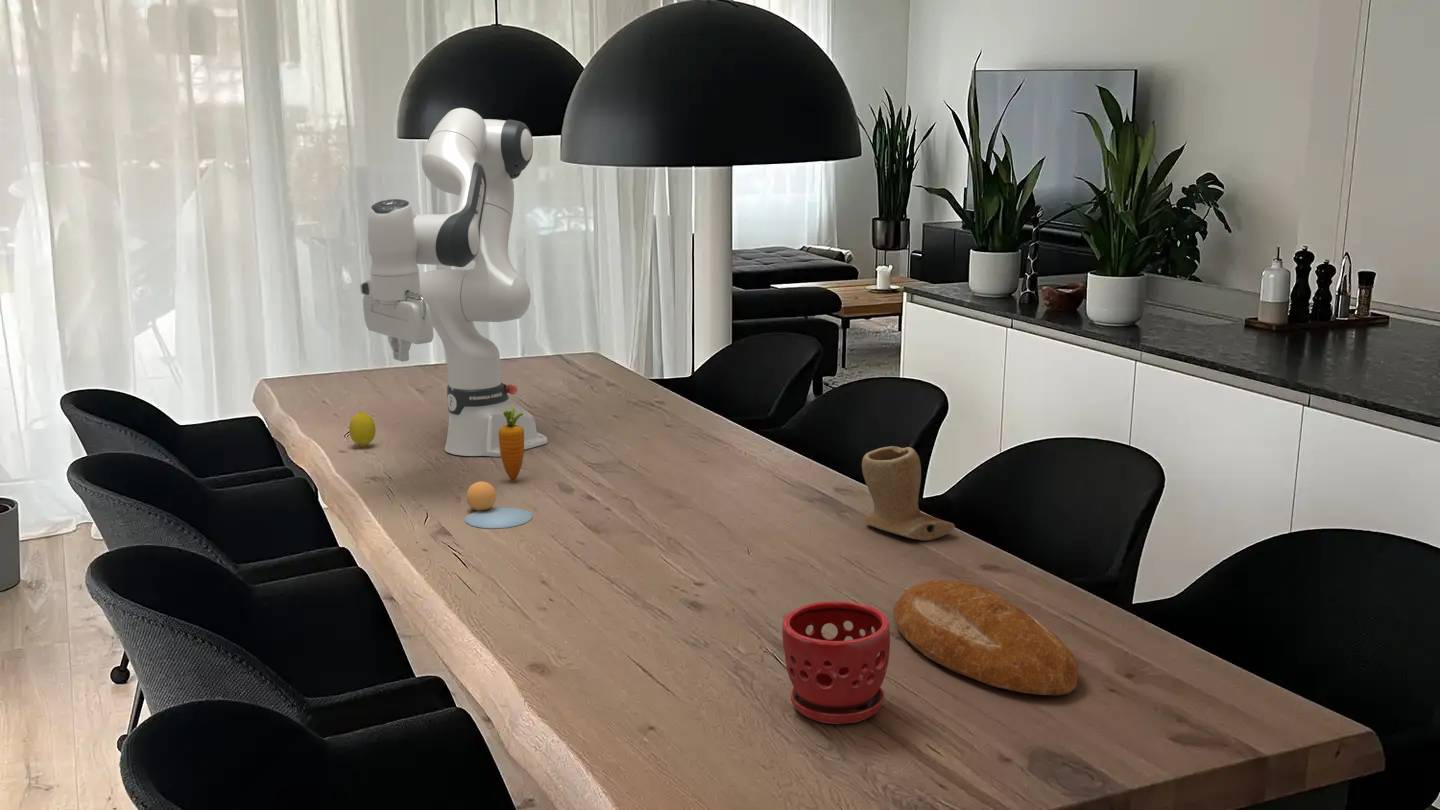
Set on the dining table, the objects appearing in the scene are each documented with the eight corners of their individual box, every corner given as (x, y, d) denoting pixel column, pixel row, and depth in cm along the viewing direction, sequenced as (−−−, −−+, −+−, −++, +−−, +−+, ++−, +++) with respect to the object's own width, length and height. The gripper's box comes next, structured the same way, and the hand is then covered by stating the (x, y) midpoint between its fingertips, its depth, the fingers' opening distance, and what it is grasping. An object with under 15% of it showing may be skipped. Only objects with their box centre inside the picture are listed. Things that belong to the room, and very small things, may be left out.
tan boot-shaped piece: (846, 527, 237) (848, 445, 234) (897, 515, 244) (899, 435, 241) (904, 550, 225) (906, 464, 222) (956, 537, 232) (959, 453, 228)
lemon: (369, 450, 291) (367, 415, 289) (346, 449, 292) (343, 413, 290) (380, 444, 296) (378, 409, 294) (357, 443, 297) (355, 408, 296)
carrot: (512, 476, 271) (509, 403, 267) (531, 480, 268) (528, 407, 264) (495, 482, 267) (492, 408, 263) (513, 486, 264) (510, 411, 260)
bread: (1004, 718, 165) (1007, 650, 163) (857, 620, 196) (858, 562, 194) (1117, 691, 172) (1121, 626, 170) (958, 600, 204) (960, 545, 202)
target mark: (509, 504, 252) (509, 503, 252) (545, 519, 243) (545, 518, 243) (453, 517, 244) (452, 516, 244) (487, 533, 235) (487, 532, 235)
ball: (498, 476, 249) (504, 504, 247) (483, 485, 252) (489, 513, 251) (473, 478, 245) (479, 506, 244) (458, 487, 249) (464, 515, 247)
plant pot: (795, 681, 175) (796, 594, 172) (896, 693, 171) (898, 605, 169) (770, 725, 163) (770, 633, 160) (877, 739, 159) (879, 645, 156)
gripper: (439, 292, 246) (444, 366, 250) (385, 280, 261) (390, 349, 265) (408, 296, 242) (413, 371, 246) (355, 283, 257) (361, 354, 260)
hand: (401, 360), depth 255 cm, fingers closed
